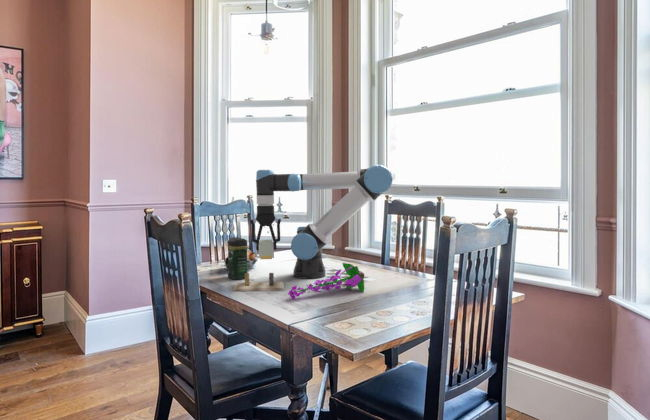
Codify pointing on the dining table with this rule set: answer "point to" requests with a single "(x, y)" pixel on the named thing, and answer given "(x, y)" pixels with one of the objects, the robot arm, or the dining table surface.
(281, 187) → the robot arm
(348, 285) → the purple and green stem
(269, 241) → the sleeve
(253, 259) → the lucky cat figurine
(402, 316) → the dining table surface
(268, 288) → the pin board
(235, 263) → the coffee jar
